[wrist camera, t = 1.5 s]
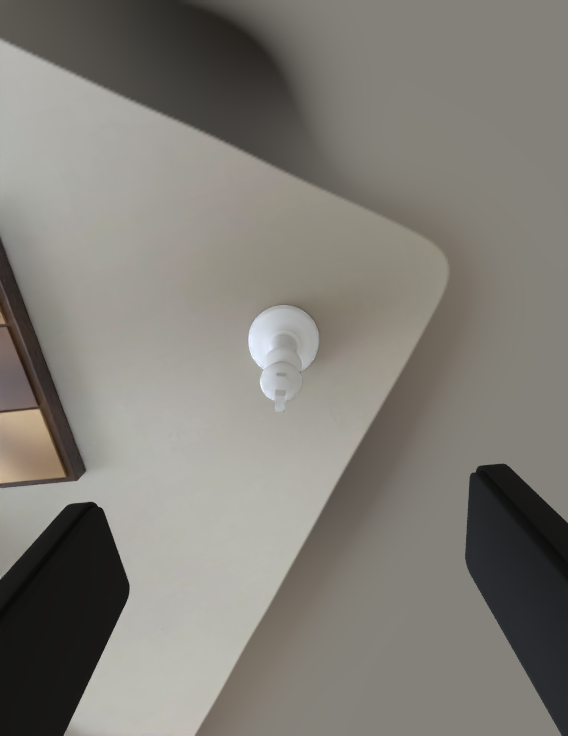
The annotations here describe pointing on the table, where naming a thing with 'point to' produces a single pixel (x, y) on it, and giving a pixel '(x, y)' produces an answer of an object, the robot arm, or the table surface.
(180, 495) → the table surface
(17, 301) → the board
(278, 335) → the chess piece
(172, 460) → the table surface
